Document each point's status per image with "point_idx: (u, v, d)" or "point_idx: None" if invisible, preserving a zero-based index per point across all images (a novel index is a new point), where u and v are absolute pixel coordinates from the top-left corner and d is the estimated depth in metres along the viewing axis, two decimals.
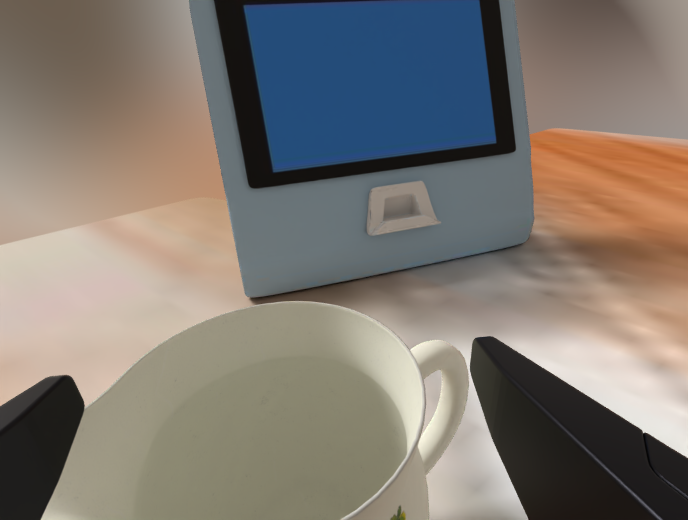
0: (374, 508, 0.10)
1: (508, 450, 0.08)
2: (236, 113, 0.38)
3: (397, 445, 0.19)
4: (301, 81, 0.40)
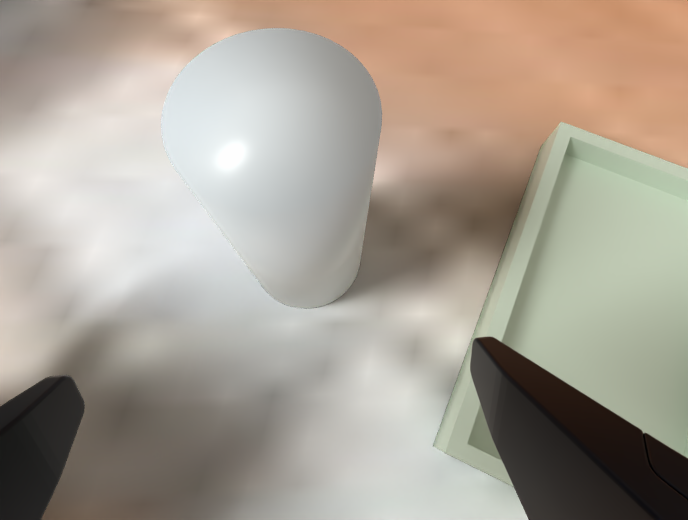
0: None
1: (508, 450, 0.08)
2: None
3: None
4: None
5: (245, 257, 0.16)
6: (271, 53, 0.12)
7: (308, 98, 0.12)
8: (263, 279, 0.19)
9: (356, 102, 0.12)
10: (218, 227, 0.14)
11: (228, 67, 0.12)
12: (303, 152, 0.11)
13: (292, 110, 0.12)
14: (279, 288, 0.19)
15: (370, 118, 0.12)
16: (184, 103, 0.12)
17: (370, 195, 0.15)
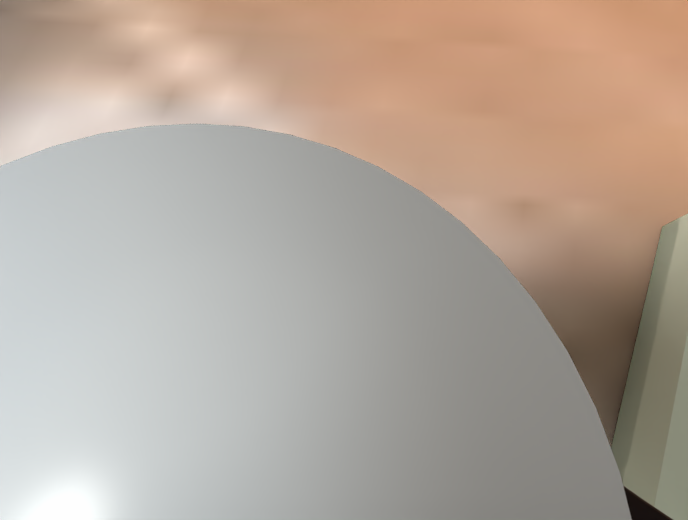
0: None
1: None
2: None
3: None
4: None
5: None
6: (164, 228, 0.03)
7: (305, 457, 0.03)
8: None
9: (516, 480, 0.03)
10: None
11: None
12: None
13: None
14: None
15: None
16: None
17: None
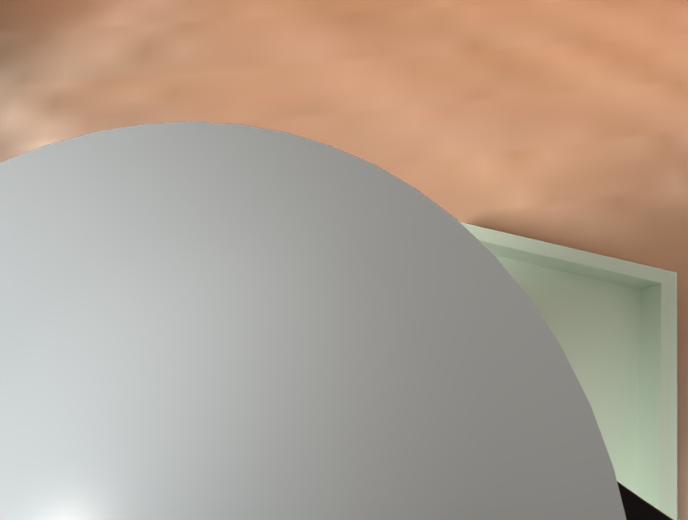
0: None
1: None
2: None
3: None
4: None
5: None
6: (160, 226, 0.03)
7: (300, 452, 0.03)
8: None
9: (510, 478, 0.03)
10: None
11: None
12: None
13: None
14: None
15: None
16: None
17: None
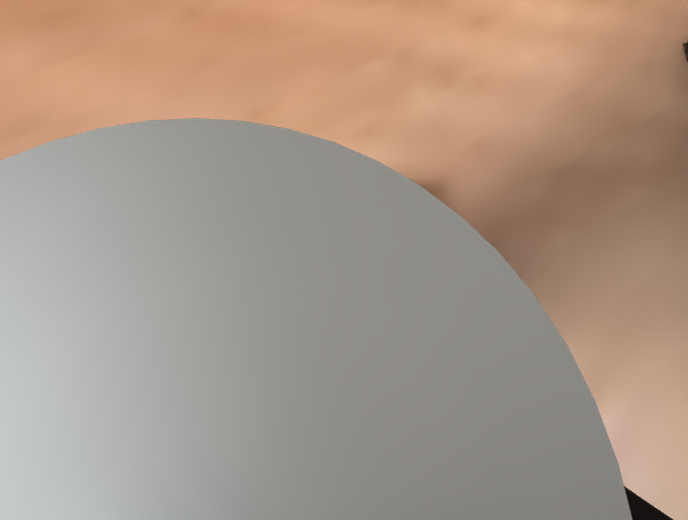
0: None
1: None
2: None
3: None
4: None
5: None
6: (164, 222, 0.03)
7: (304, 449, 0.03)
8: None
9: (516, 473, 0.03)
10: None
11: None
12: None
13: None
14: None
15: None
16: None
17: None
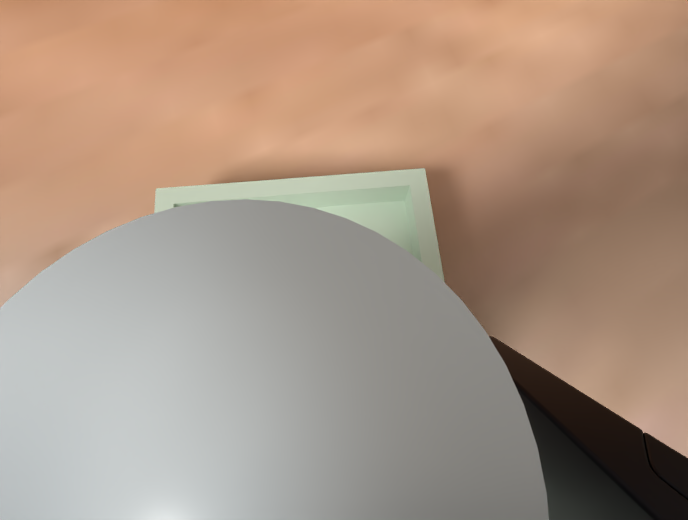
0: None
1: None
2: None
3: None
4: None
5: None
6: (226, 278, 0.05)
7: (328, 436, 0.04)
8: None
9: (467, 453, 0.04)
10: None
11: (105, 328, 0.04)
12: None
13: (281, 486, 0.04)
14: None
15: (515, 517, 0.04)
16: None
17: None
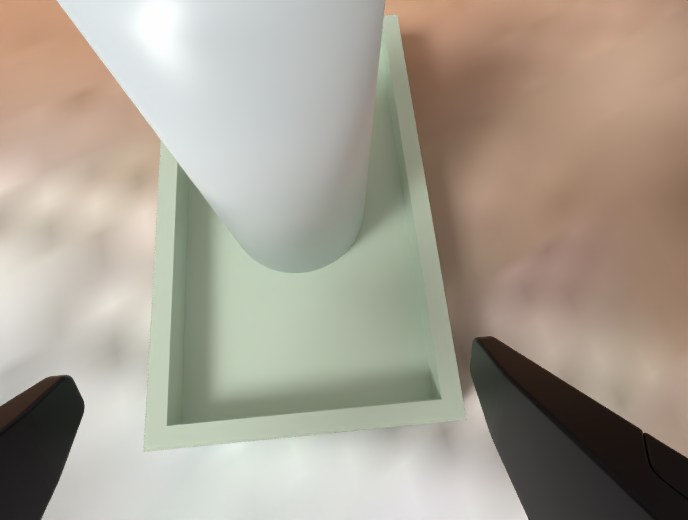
0: None
1: (508, 450, 0.08)
2: None
3: None
4: None
5: (198, 180, 0.11)
6: None
7: None
8: (232, 223, 0.14)
9: None
10: (150, 124, 0.10)
11: None
12: None
13: None
14: (255, 237, 0.14)
15: None
16: None
17: (376, 85, 0.11)
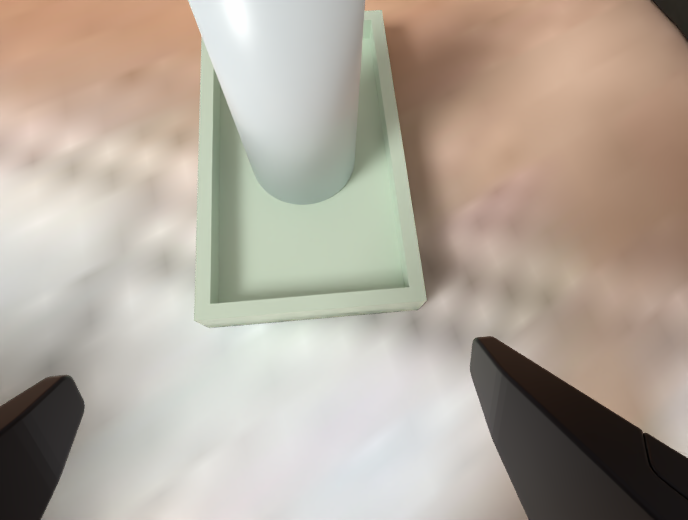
0: None
1: (508, 450, 0.08)
2: None
3: None
4: None
5: (243, 110, 0.17)
6: None
7: None
8: (260, 151, 0.20)
9: None
10: (218, 68, 0.16)
11: None
12: None
13: None
14: (275, 163, 0.20)
15: None
16: None
17: (361, 49, 0.16)
